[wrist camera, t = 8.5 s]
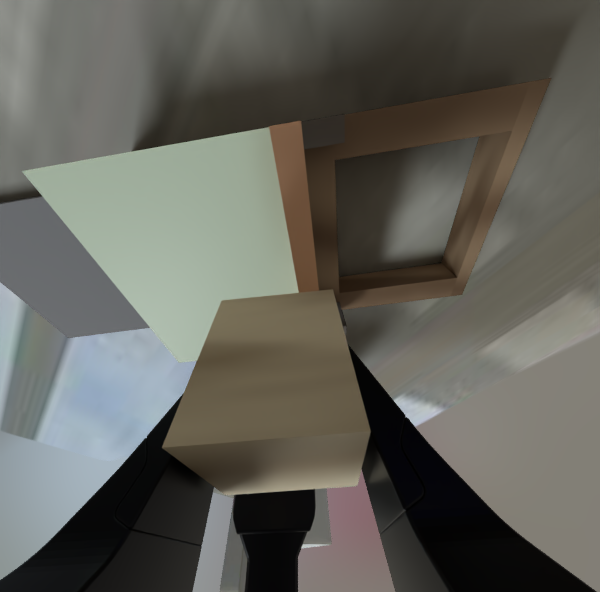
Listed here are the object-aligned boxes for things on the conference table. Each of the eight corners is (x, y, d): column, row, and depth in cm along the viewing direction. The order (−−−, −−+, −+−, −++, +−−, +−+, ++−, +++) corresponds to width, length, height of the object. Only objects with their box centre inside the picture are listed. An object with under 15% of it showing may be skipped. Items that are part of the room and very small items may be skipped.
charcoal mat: (187, 316, 23) (183, 323, 23) (75, 331, 24) (68, 338, 23) (103, 185, 15) (93, 188, 15) (-60, 212, 16) (-78, 217, 15)
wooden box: (446, 279, 21) (485, 317, 17) (212, 309, 23) (194, 352, 19) (511, 85, 13) (623, 64, 9) (130, 152, 14) (60, 164, 10)
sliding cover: (322, 338, 18) (327, 374, 15) (182, 354, 19) (164, 391, 16) (298, 121, 9) (300, 120, 7) (38, 168, 10) (-51, 183, 7)
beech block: (333, 358, 11) (357, 485, 7) (248, 366, 11) (225, 495, 7) (332, 289, 8) (370, 430, 4) (221, 300, 9) (162, 447, 5)
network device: (285, 487, 71) (283, 589, 55) (259, 489, 72) (251, 590, 56) (260, 464, 56) (248, 597, 40) (228, 467, 57) (204, 599, 41)
